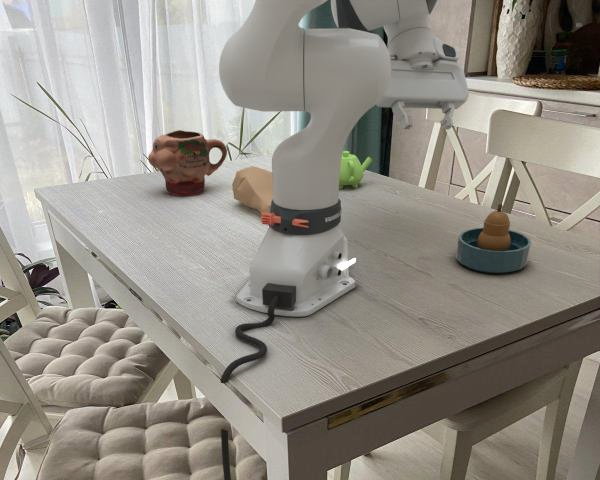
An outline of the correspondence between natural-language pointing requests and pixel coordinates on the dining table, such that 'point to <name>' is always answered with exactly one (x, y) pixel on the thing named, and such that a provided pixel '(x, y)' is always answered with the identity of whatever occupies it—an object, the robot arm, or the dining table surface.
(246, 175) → the squash
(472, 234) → the bowl
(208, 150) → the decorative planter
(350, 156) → the teapot
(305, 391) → the dining table surface
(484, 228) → the pear
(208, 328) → the dining table surface
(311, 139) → the robot arm
